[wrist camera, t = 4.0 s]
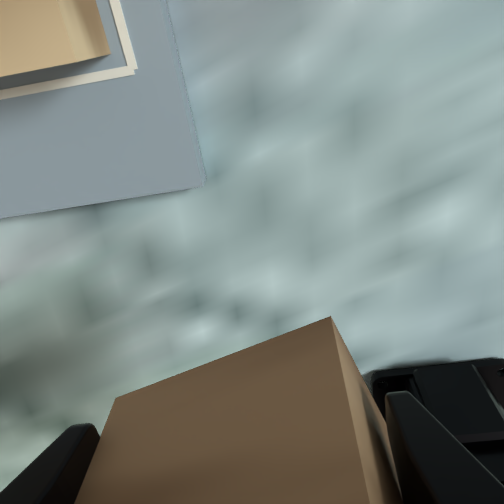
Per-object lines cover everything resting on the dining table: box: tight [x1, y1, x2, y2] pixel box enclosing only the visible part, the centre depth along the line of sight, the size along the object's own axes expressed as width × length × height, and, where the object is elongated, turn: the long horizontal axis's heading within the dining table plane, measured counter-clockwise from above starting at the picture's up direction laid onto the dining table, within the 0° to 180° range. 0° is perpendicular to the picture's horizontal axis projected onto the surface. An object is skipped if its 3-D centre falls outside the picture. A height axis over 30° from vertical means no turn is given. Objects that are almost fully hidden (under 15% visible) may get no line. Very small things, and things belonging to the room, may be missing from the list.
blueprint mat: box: [0, 0, 206, 219], centre depth 15 cm, size 12×10×1 cm
